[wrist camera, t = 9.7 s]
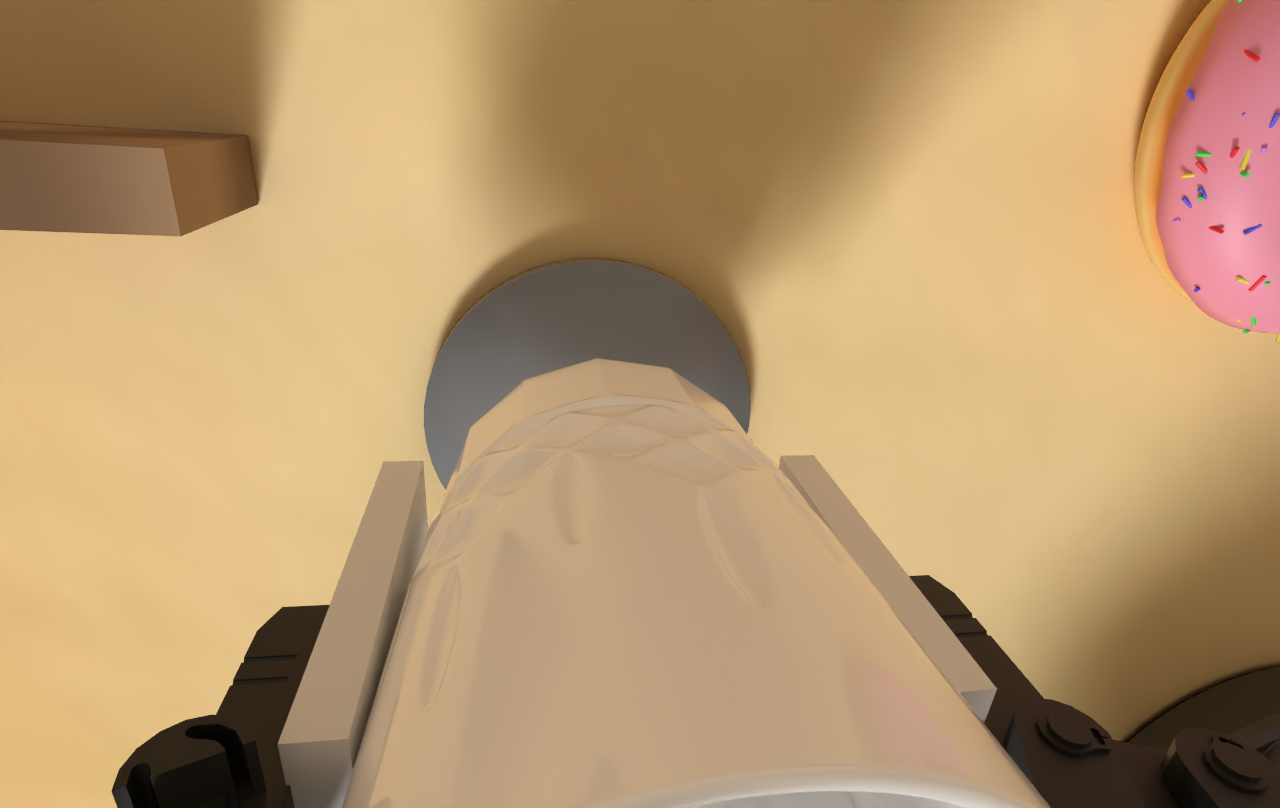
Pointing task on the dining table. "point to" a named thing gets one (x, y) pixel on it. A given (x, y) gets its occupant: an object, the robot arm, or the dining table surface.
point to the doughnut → (1217, 166)
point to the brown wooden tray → (120, 179)
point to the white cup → (654, 629)
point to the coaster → (574, 342)
